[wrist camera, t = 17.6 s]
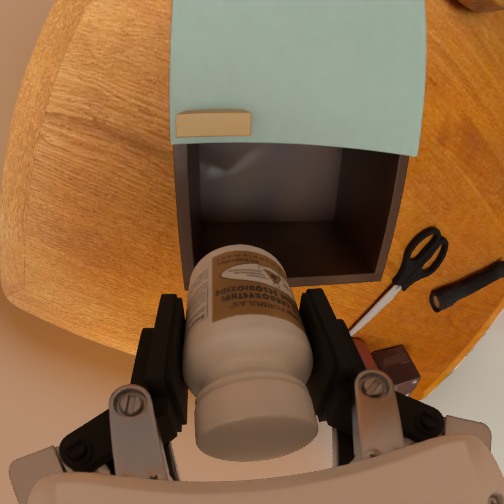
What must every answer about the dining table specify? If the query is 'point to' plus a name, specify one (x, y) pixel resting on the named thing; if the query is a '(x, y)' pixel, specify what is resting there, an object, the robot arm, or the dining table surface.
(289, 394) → the pill bottle
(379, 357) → the box
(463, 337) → the dining table surface
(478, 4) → the rough brown rock
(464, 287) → the flashlight
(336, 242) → the display box
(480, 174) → the dining table surface
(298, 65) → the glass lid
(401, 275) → the scissors
